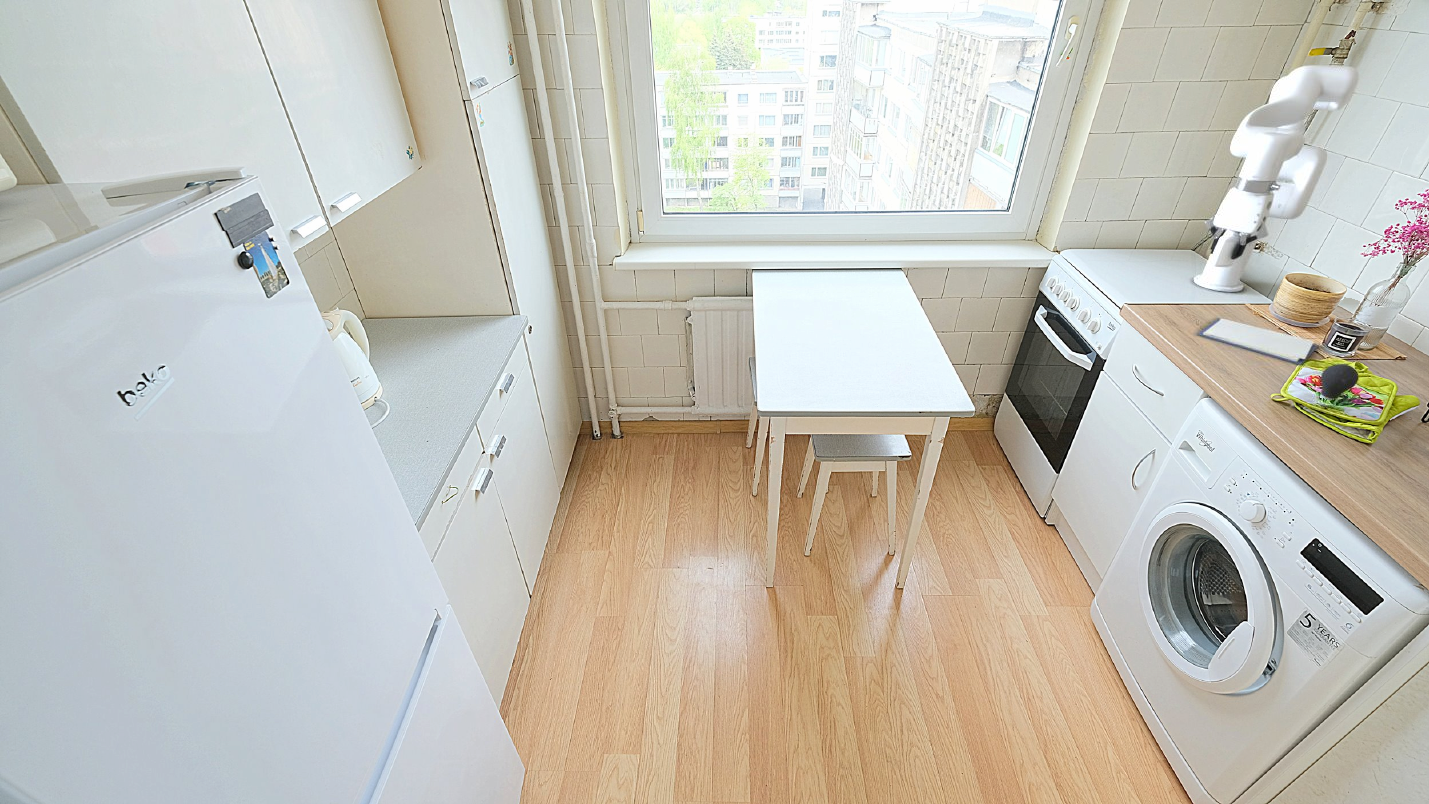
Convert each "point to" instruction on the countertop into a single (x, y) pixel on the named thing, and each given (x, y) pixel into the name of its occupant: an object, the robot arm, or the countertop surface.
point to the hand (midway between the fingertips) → (1224, 255)
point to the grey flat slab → (1260, 340)
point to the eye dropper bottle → (1225, 250)
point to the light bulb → (1337, 381)
